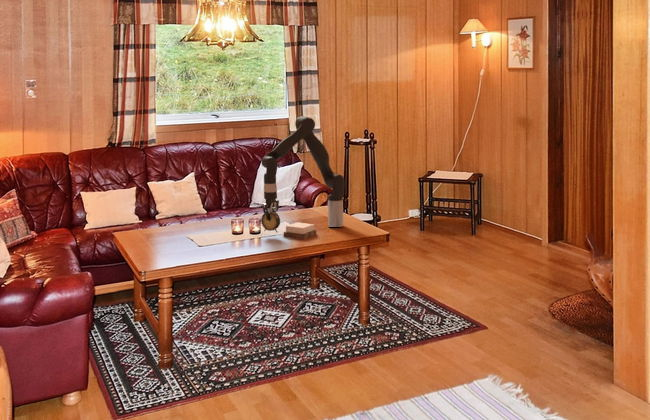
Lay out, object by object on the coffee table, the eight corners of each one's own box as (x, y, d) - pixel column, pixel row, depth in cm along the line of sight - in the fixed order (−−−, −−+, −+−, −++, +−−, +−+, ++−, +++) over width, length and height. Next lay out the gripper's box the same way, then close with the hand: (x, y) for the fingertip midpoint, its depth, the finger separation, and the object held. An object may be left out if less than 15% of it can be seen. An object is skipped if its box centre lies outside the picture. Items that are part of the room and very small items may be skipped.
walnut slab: (296, 233, 431) (296, 227, 430) (316, 235, 424) (316, 230, 423) (283, 238, 419) (283, 232, 419) (303, 240, 412) (303, 234, 412)
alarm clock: (261, 231, 418) (260, 204, 415) (266, 229, 423) (265, 202, 420) (277, 233, 413) (276, 206, 410) (282, 231, 418) (281, 204, 415)
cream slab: (297, 228, 429) (297, 222, 429) (314, 230, 423) (314, 224, 423) (286, 231, 419) (285, 225, 419) (303, 234, 413) (303, 228, 413)
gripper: (268, 193, 405) (269, 222, 409) (282, 189, 418) (283, 217, 421) (257, 192, 409) (258, 221, 413) (272, 188, 421) (272, 216, 425)
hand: (271, 219), depth 417 cm, fingers closed on alarm clock, 5 cm apart
